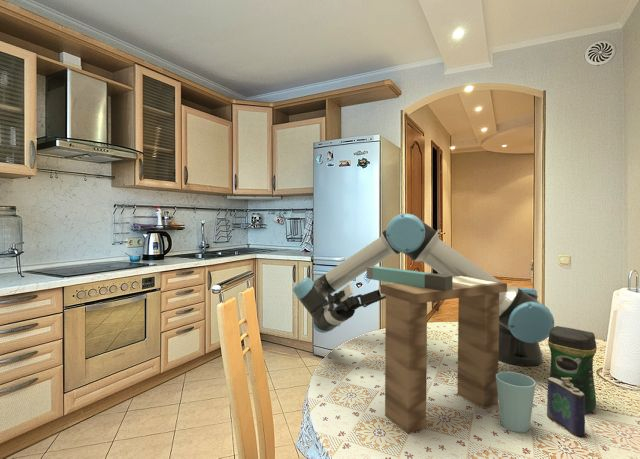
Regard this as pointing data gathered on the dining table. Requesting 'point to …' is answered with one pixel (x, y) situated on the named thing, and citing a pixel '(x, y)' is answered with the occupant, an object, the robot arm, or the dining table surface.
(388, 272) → the teal bar
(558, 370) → the coffee jar
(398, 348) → the shelf
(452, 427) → the dining table surface
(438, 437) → the dining table surface
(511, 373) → the cup
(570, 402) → the flask
